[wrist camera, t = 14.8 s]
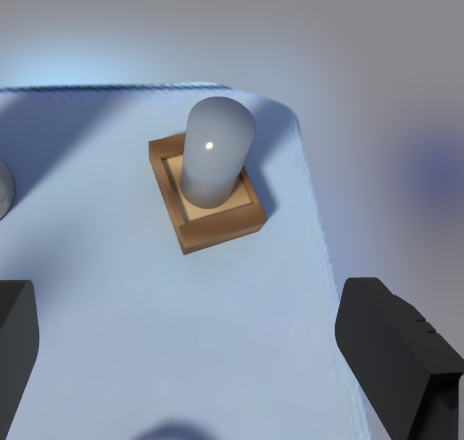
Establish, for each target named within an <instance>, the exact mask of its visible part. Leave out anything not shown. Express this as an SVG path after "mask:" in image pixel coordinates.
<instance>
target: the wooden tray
mask: <svg viewBox="0 0 464 440" xmlns="http://www.w3.org/2000/svg"><path fill="white" fill-rule="evenodd" d="M185 137H186V133H184V134H180V135H175V136H171V137H167V138H162V139H158V140H154V141H149V160H150V163H151V165H152V168H153V171H154V174H155V177H156V179H157V182H158V185H159V188H160V191H161V193H162V196H163V199H164V202H165V205H166V207H167V210H168V213H169V216H170V219H171V221H172V224H173V227H174V230H175V233H176V235H177V238H178V241H179V244H180V246H181V249H182V252H183V255H186V254H189V253H192V252H195V251H198V250H201V249H204V248H208V247H211V246H214V245H217V244H220V243H223V242H226V241H229V240H232V239H236V238H239V237H242V236H245V235H248V234H251V233H254V232H257V231H259V230H260V229H261V227H262V226H263V224H264V223H265V222H266V220H267V219H266V216H265V214H264V212H263V209H262V207H261V205H260V202H259V200H258V198H257V196H256V193H255V191H254V189H253V186H252V184H251V182H250V179H249V177H248V175H247V172H246V170H245V168H244V165H243V166H242V169H241V171H240V174H239V176H238V178H237V181H236V183H235V186H234V188H233V190H232V193H231V195H230V197H229V199H228V200H227V201H226V202H225V203H224V204H223V205H221V206H219V207H217V208H213V209H202V208H198V207H196V206H194V205H192V204H190V203H189V202H188V201H187V200H186V199H185V198H184V196H183V195H182V193H181V190H180V176H181V168H182V160H183V153H184V145H185Z"/></svg>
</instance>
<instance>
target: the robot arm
mask: <svg viewBox="0 0 464 440" xmlns="http://www.w3.org/2000/svg"><path fill="white" fill-rule="evenodd" d="M14 191H15V187H14V180H13V178H12V176H11V173H10V172H9V170H8V169H7V167H6V166H5V164H4V163H3V161H2V160H1V159H0V219H1V218H2V217H3V216H4V215H5V214H6V212H7V211H8V209H9V208H10V206H11V203H12V201H13V198H14ZM335 338H336V342H337V345H338V347H339V349H340V351H341V353H342V355H343V356H344V358H345V360H346V361H347V363H348V365H349V367H350V368H351V370H352V372H353V374H354V375H355V377H356V379H357V381H358V382H359V384H360V386H361V388H362V389H363V391H364V393H365V394H366V396H367V398H368V400H369V401H370V403H371V405H372V407H373V408H374V410H375V412H376V413H377V415H378V417H379V419H380V420H381V422H382V424H383V426H384V427H385V429H386V431H387V433H388V434H389V436H390V438H391V440H464V359H463V358H462V357H461V356H460V355H459V354H458V353H457V352H456V351H455V350H454V349H453V348H452V347H451V346H450V345H449V344H448V343H447V341H445V339H444V338H443V337H442V336H441V335H440V334H439V333H436V330H435V329H434V328H433V327H432V326H431V325H430V323H428V322H426V319H425V318H424V317H423V316H422V315H421V314H420V313H419V312H418V311H417V310H416V309H415V307H414V306H412V305H410V304H409V303H407V302H406V301H404V300H403V299H401V298H400V297H398V296H396V295H393V294H392V293H391V292H390V291H389V290H388V288H387V287H386V286H385V285H384V284H383V283H382V282H381V281H380V280H379V279H378V278H375V277H371V278H370V277H365V278H364V277H362V278H348V279H347V280H346V282H345V284H344V288H343V293H342V296H341V301H340V305H339V309H338V314H337V318H336V322H335ZM38 349H39V326H38V318H37V310H36V302H35V294H34V287H33V283H32V282H31V281H30V280H0V440H6V437H7V434H8V432H9V429H10V426H11V424H12V421H13V419H14V416H15V413H16V411H17V408H18V406H19V403H20V400H21V398H22V395H23V393H24V390H25V387H26V385H27V382H28V380H29V377H30V374H31V372H32V369H33V367H34V364H35V361H36V358H37V355H38Z"/></svg>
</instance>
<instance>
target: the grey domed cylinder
mask: <svg viewBox="0 0 464 440" xmlns="http://www.w3.org/2000/svg"><path fill="white" fill-rule="evenodd" d="M255 133H256V126H255V121H254V119H253V116H252V115H251V113H250V112H249V111H248V109H247V108H246V107H245V106H243V105H242V104H241V103H239V102H237V101H235V100H233V99H230V98H226V97H210V98H206V99H204V100H202V101H200V102H198V103H197V104H196V105H195V106H194V107H193V108H192V110H191V111H190V113H189V116H188V122H187V129H186V137H185V145H184V153H183V160H182V168H181V176H180V190H181V193H182V195H183V196H184V198H185V199H186V200H187V201H188V202H189V203H190V204H192V205H194V206H196V207H198V208H202V209H213V208H217V207H219V206H221V205H223V204H224V203H225V202H226V201H227V200H228V199H229V197H230V195H231V193H232V190H233V188H234V186H235V183H236V181H237V178H238V176H239V174H240V171H241V169H242V166H243V164H244V161H245V159H246V157H247V154H248V152H249V149H250V147H251V144H252V142H253V140H254V137H255Z"/></svg>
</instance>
